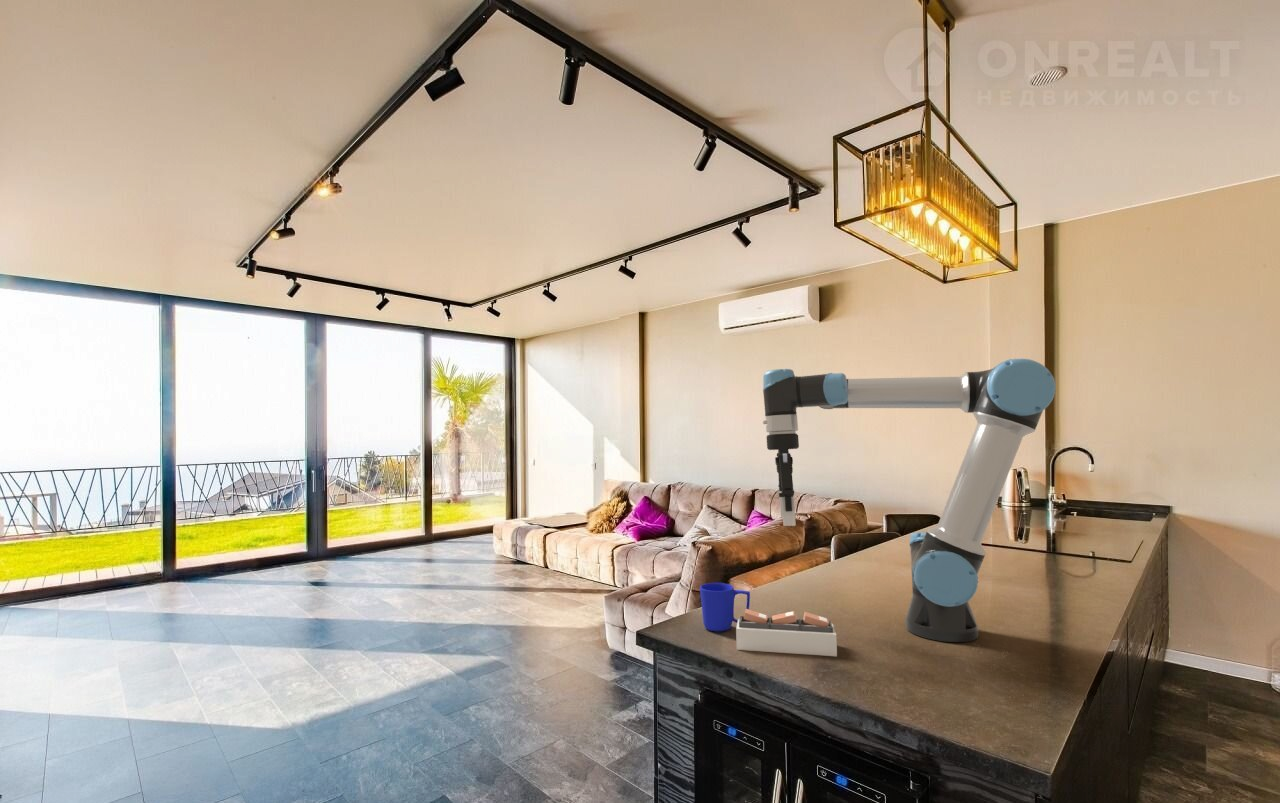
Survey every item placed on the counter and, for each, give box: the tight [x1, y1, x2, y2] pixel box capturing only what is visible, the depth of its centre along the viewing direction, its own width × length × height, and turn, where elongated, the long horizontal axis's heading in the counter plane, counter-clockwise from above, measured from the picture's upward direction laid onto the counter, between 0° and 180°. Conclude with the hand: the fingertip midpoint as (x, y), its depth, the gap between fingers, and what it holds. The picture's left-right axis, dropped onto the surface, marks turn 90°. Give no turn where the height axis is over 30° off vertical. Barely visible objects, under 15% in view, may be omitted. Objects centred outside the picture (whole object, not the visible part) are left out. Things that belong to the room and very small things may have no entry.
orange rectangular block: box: [802, 611, 829, 627], centre depth 126 cm, size 5×3×2 cm, turn 76°
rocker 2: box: [771, 610, 797, 625], centre depth 128 cm, size 5×3×2 cm, turn 78°
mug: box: [699, 582, 751, 633], centre depth 140 cm, size 8×12×10 cm
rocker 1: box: [743, 608, 768, 624], centre depth 129 cm, size 5×3×2 cm, turn 76°
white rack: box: [735, 615, 838, 657], centre depth 127 cm, size 21×7×6 cm, turn 77°
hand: (787, 521), depth 138 cm, fingers open, 13 cm apart
